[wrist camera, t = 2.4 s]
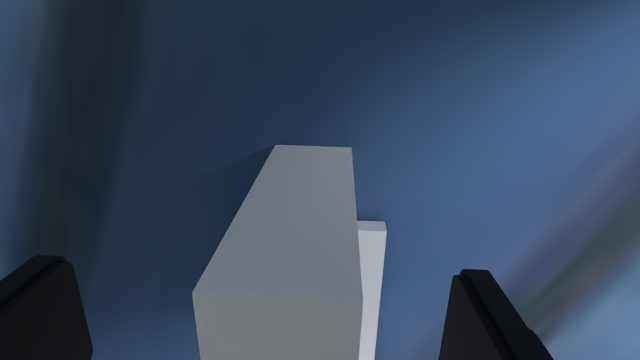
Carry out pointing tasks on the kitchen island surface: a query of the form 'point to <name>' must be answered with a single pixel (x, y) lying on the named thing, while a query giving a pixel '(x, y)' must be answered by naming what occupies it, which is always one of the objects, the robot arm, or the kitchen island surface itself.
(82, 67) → the kitchen island surface
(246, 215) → the white l-shaped block
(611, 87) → the kitchen island surface
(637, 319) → the kitchen island surface
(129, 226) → the kitchen island surface
